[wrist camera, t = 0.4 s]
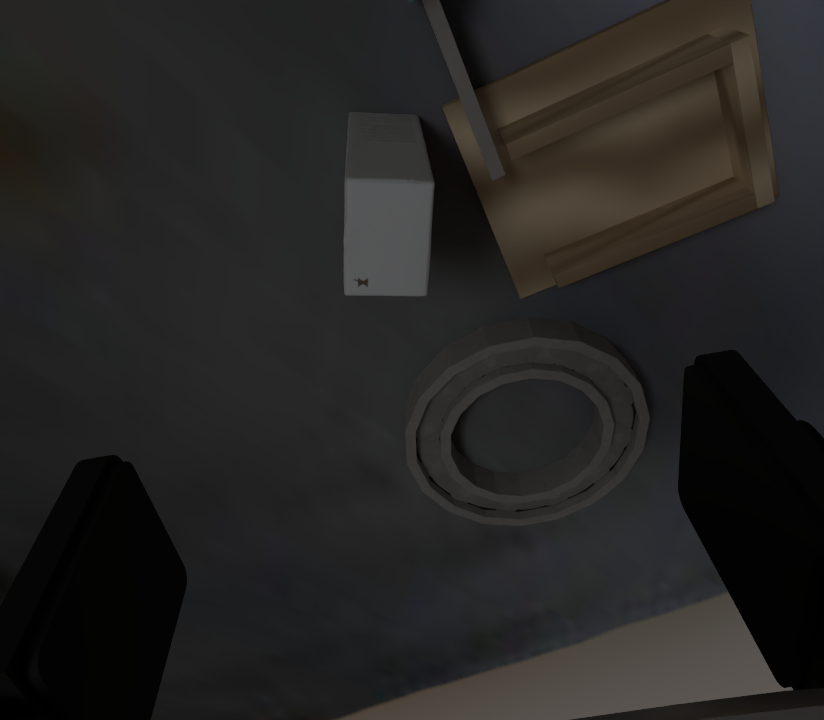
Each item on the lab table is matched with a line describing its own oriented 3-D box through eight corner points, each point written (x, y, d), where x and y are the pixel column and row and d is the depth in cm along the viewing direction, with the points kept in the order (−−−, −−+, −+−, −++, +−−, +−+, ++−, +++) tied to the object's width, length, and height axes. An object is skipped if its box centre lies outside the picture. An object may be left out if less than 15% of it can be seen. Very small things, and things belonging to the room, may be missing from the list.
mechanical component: (357, 391, 53) (356, 416, 50) (579, 271, 48) (590, 292, 45) (473, 528, 62) (477, 554, 59) (670, 438, 57) (684, 463, 54)
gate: (395, -33, 36) (398, -24, 32) (430, -52, 36) (438, -45, 32) (475, 167, 42) (485, 194, 38) (506, 153, 42) (520, 179, 38)
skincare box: (415, 208, 44) (428, 301, 34) (347, 206, 44) (341, 299, 34) (421, 110, 41) (437, 181, 31) (348, 107, 41) (341, 178, 31)
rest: (441, 105, 41) (447, 122, 38) (741, -35, 37) (772, -29, 34) (519, 295, 48) (528, 321, 45) (775, 192, 45) (803, 213, 42)
